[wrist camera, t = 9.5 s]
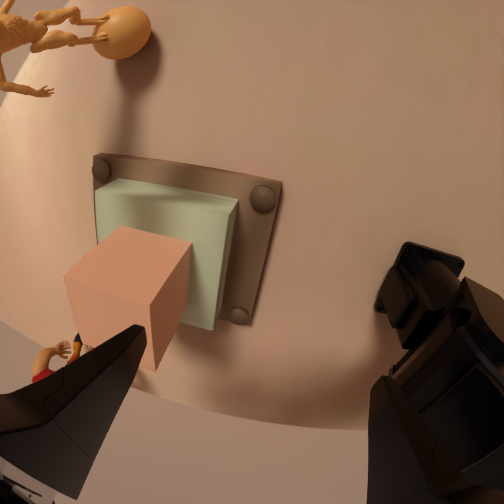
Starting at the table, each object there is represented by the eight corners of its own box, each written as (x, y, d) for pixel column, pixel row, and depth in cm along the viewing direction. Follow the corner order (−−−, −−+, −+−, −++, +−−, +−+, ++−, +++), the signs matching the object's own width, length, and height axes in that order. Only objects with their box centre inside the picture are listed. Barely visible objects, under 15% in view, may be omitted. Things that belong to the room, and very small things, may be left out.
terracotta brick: (192, 242, 17) (149, 305, 11) (187, 305, 19) (155, 371, 14) (120, 225, 17) (63, 275, 11) (124, 286, 19) (82, 342, 14)
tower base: (282, 181, 18) (279, 200, 15) (250, 317, 24) (243, 351, 21) (100, 153, 19) (67, 165, 15) (107, 279, 24) (85, 304, 21)
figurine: (159, 84, 16) (15, 85, 5) (92, 98, 16) (-42, 124, 6) (164, -14, 12) (53, -78, 1) (96, 7, 12) (-22, -14, 2)
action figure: (73, 332, 30) (15, 416, 17) (66, 311, 28) (-1, 399, 15) (134, 355, 30) (80, 459, 17) (129, 335, 28) (66, 447, 15)
